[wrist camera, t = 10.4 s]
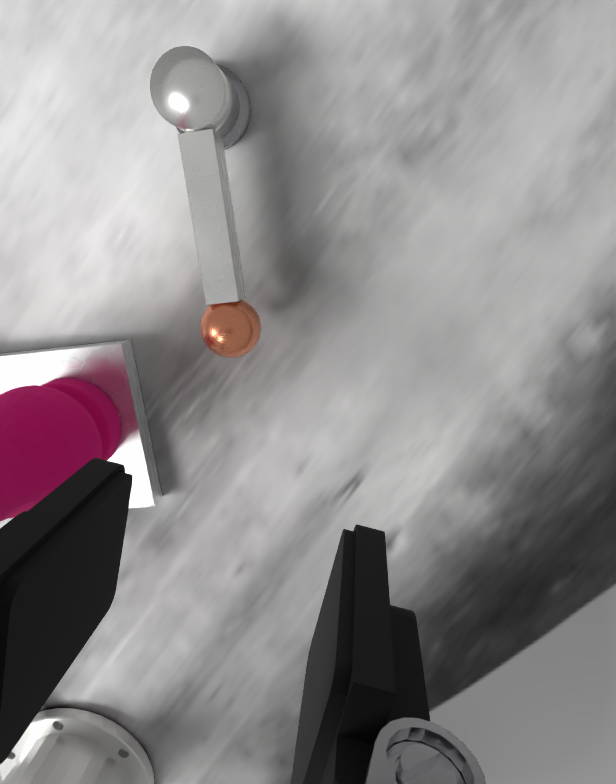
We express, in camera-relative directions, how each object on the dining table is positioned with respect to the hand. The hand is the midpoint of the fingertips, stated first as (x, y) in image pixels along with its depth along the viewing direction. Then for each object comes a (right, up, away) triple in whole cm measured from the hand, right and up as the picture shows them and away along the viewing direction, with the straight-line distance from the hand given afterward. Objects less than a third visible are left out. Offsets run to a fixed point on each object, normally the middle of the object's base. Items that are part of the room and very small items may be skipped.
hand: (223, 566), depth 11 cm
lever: (-3, +13, +22) cm, 26 cm away
